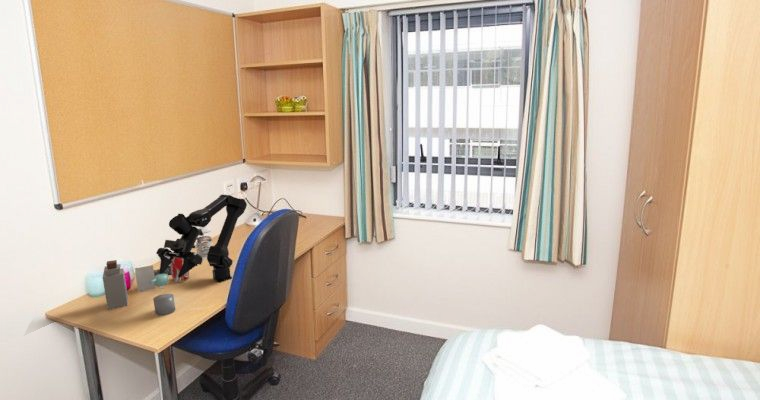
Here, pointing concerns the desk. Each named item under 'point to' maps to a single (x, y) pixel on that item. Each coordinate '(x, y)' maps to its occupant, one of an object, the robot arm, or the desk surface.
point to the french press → (204, 243)
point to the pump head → (160, 280)
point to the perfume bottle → (115, 285)
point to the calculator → (167, 271)
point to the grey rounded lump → (164, 304)
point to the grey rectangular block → (145, 278)
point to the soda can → (178, 270)
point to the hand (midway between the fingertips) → (169, 275)
